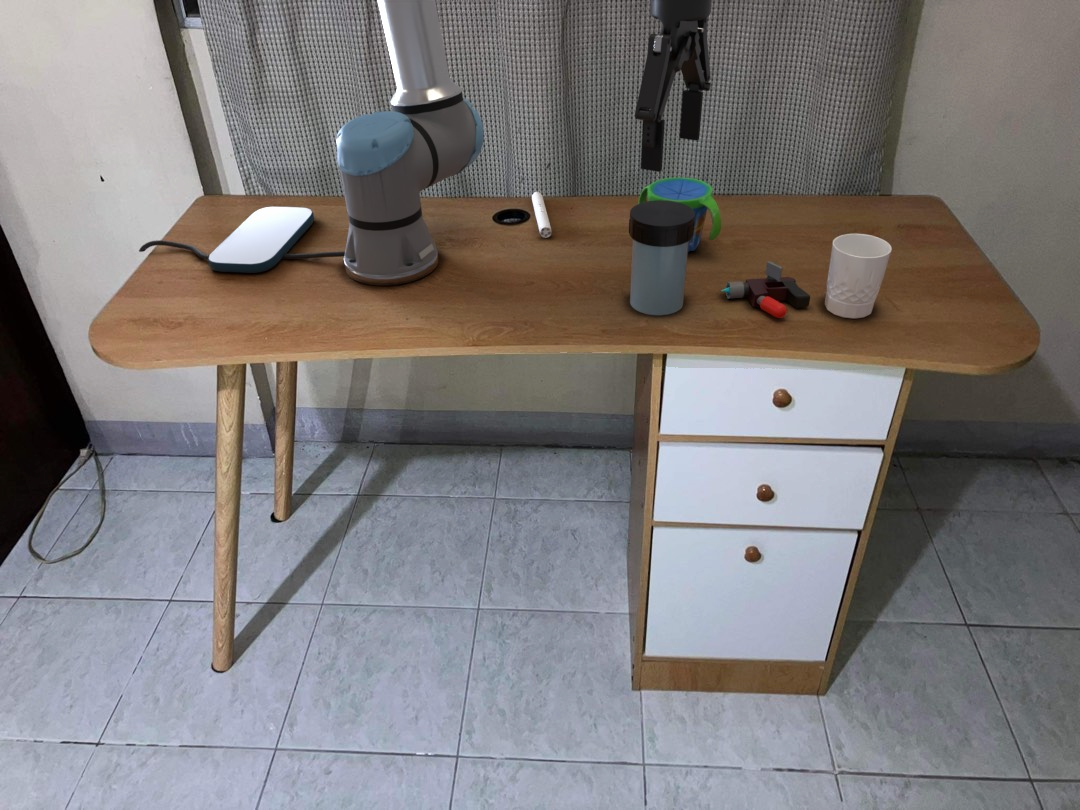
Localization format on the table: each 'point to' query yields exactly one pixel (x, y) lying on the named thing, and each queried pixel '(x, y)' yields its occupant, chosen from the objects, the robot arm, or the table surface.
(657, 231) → the lid
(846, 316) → the white cup
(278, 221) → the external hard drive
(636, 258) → the jar
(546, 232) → the marker
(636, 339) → the table surface
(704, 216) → the snack cup
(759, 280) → the toy gun
